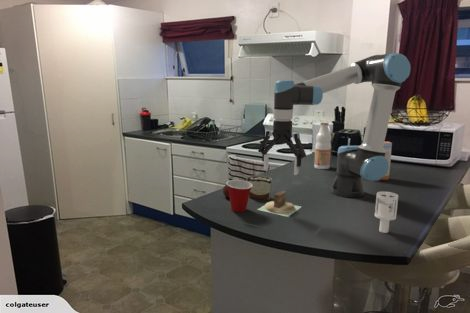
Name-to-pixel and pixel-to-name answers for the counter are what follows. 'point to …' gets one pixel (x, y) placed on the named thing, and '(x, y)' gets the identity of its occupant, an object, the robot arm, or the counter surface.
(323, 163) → the fruit juice
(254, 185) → the food container
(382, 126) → the robot arm
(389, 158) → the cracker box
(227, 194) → the potato
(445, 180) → the counter surface
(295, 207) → the mat
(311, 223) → the counter surface
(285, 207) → the lid
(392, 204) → the white stepped cylinder
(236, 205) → the plastic cup
